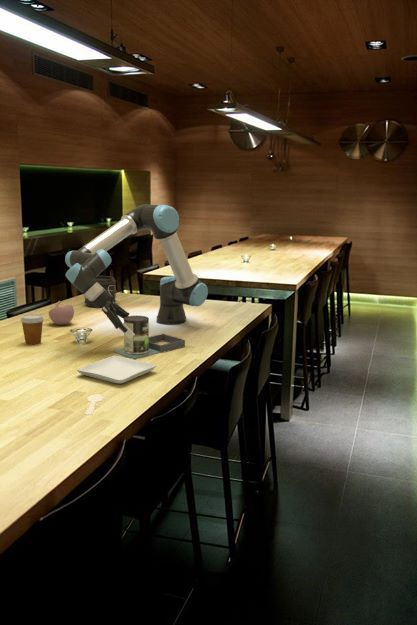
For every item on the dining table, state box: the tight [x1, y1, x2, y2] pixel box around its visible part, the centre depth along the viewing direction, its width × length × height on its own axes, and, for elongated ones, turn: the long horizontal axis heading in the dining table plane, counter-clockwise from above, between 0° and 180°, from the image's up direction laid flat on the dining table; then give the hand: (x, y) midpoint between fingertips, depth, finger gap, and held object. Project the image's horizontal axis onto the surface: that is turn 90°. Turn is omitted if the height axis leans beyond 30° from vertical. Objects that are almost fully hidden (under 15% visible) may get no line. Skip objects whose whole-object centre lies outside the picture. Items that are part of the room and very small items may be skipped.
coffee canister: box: [84, 275, 118, 309], centre depth 339 cm, size 18×18×16 cm
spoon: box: [84, 393, 105, 416], centre depth 191 cm, size 5×18×1 cm, turn 2°
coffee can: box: [123, 315, 150, 354], centre depth 248 cm, size 10×10×14 cm
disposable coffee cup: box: [20, 313, 45, 346], centre depth 258 cm, size 10×10×12 cm
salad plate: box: [76, 355, 157, 384], centre depth 220 cm, size 21×21×3 cm
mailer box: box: [112, 333, 186, 360], centre depth 254 cm, size 28×14×3 cm, turn 136°
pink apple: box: [48, 300, 75, 326], centre depth 293 cm, size 12×12×12 cm
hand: (135, 332), depth 247 cm, fingers open, 13 cm apart
